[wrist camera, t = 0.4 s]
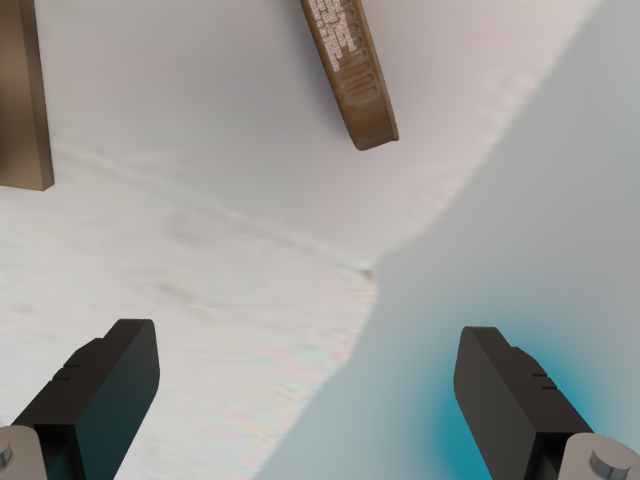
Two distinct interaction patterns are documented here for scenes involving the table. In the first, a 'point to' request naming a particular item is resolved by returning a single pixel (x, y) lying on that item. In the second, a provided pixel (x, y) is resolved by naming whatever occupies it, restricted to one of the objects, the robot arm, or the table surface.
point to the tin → (352, 70)
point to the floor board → (22, 101)
